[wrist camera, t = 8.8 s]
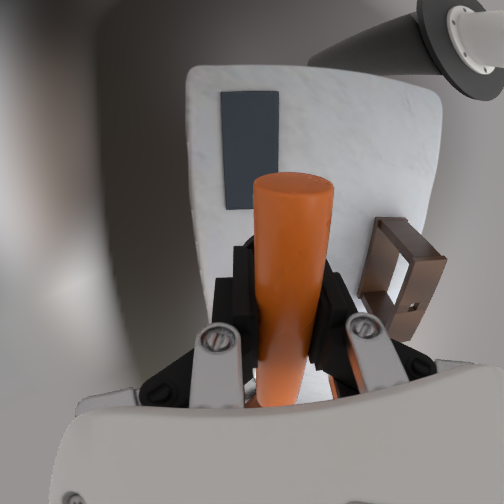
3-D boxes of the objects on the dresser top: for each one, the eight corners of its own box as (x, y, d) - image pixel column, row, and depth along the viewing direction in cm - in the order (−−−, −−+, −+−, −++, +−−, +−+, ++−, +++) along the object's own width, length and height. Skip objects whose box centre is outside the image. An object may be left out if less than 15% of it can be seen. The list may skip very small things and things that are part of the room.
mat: (221, 92, 29) (221, 92, 29) (277, 91, 29) (278, 91, 29) (226, 208, 38) (226, 210, 37) (276, 206, 38) (277, 208, 37)
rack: (375, 217, 39) (415, 261, 28) (405, 217, 39) (447, 259, 29) (356, 295, 48) (380, 346, 37) (383, 292, 48) (410, 340, 37)
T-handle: (236, 130, 18) (231, 196, 6) (278, 129, 18) (366, 196, 6) (241, 251, 23) (246, 414, 11) (276, 250, 23) (311, 409, 11)
